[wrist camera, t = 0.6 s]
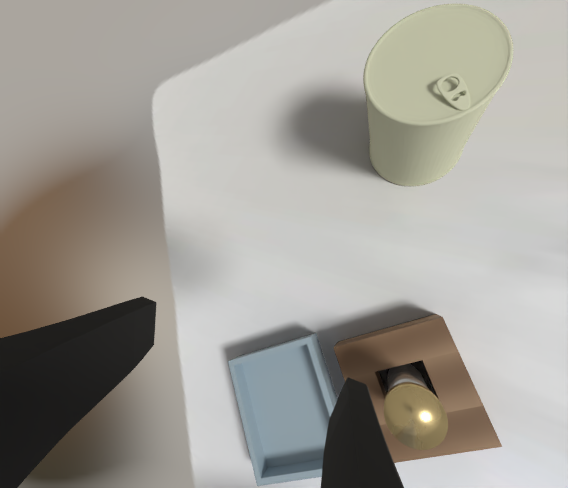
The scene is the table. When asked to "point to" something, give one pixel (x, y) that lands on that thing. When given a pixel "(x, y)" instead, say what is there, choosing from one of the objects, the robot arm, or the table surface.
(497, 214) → the table surface
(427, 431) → the pin
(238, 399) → the tray
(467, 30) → the can
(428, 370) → the pin stand
